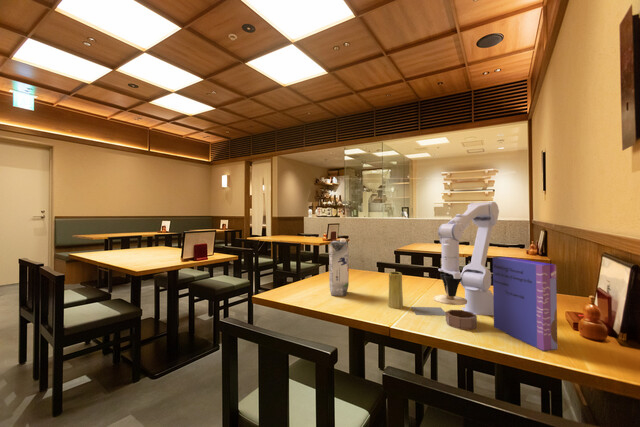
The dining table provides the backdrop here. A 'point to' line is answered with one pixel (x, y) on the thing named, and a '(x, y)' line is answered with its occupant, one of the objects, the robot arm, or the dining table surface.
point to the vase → (395, 290)
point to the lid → (450, 299)
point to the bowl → (461, 319)
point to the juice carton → (338, 267)
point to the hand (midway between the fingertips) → (450, 295)
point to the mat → (429, 311)
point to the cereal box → (526, 301)
